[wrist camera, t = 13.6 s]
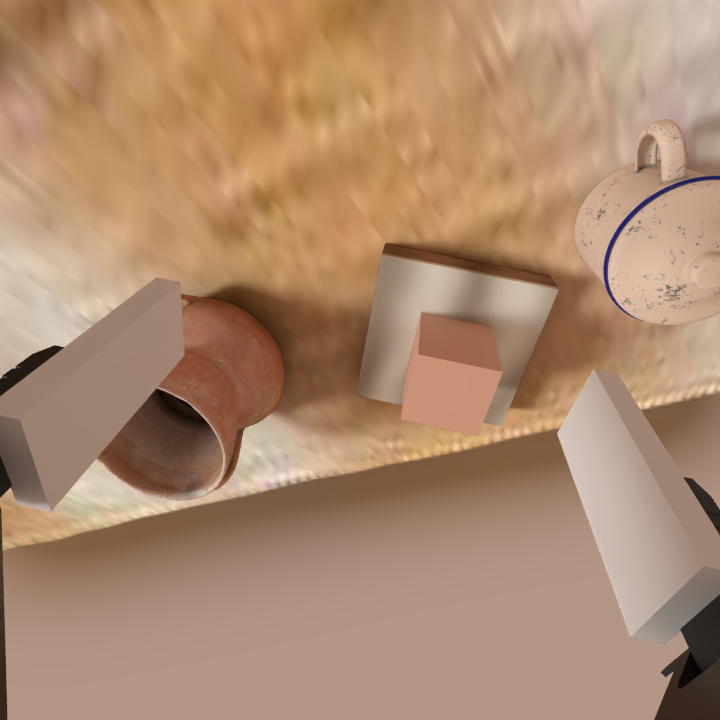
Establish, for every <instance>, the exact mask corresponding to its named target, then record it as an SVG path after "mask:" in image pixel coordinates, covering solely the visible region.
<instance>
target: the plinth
mask: <svg viewBox="0 0 720 720" xmlns="http://www.w3.org/2000/svg"><path fill="white" fill-rule="evenodd" d="M558 291H559V289H558V287H557V286H556V284H555V282H554V281H553V279H552V278H551V276H548V275H543V274H537V273H532V272H527V271H522V270H517V269H512V268H507V267H502V266H497V265H492V264H487V263H482V262H477V261H472V260H467V259H462V258H457V257H452V256H447V255H442V254H437V253H431V252H426V251H421V250H416V249H411V248H406V247H401V246H396V245H391V244H386V243H385V246H384V249H383V252H382V256H381V261H380V267H379V272H378V278H377V283H376V288H375V294H374V299H373V305H372V310H371V315H370V321H369V326H368V331H367V337H366V342H365V348H364V353H363V358H362V364H361V369H360V375H359V380H358V385H357V391H356V396H360V397H365V398H370V399H374V400H379V401H384V402H389V403H393V404H398V405H402V403H403V394H404V385H405V375H406V369H407V365H408V361H409V357H410V353H411V349H412V345H413V342H414V338H415V334H416V330H417V326H418V322H419V318H420V314H421V312H422V313H427V314H432V315H437V316H442V317H447V318H452V319H456V320H461V321H466V322H471V323H476V324H481V325H486V326H490V327H492V328H493V332H494V336H495V341H496V345H497V349H498V353H499V358H500V362H501V366H502V370H503V373H502V376H501V378H500V381H499V383H498V386H497V388H496V391H495V393H494V396H493V399H492V401H491V404H490V406H489V409H488V411H487V414H486V416H485V419H484V421H483V423H487V424H492V425H496V426H502V424H503V421H504V419H505V417H506V414H507V412H508V410H509V407H510V405H511V402H512V400H513V398H514V395H515V393H516V391H517V388H518V386H519V383H520V381H521V379H522V376H523V374H524V372H525V369H526V367H527V365H528V362H529V360H530V357H531V355H532V353H533V350H534V348H535V346H536V343H537V341H538V338H539V336H540V334H541V331H542V329H543V327H544V324H545V322H546V319H547V317H548V315H549V312H550V310H551V308H552V305H553V303H554V300H555V298H556V296H557V293H558Z"/></svg>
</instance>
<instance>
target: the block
mask: <svg viewBox="0 0 720 720" xmlns="http://www.w3.org/2000/svg"><path fill="white" fill-rule="evenodd" d="M502 373H503V370H502V366H501V362H500V358H499V353H498V349H497V345H496V341H495V336H494V332H493V328H492V327H490V326H486V325H481V324H476V323H471V322H466V321H461V320H456V319H452V318H447V317H442V316H437V315H432V314H427V313H422V312H421V314H420V318H419V322H418V326H417V330H416V334H415V338H414V342H413V345H412V349H411V353H410V357H409V361H408V365H407V369H406V375H405V385H404V394H403V403H402V413H401V420H404V421H409V422H414V423H418V424H423V425H428V426H432V427H437V428H441V429H446V430H451V431H455V432H460V433H465V434H469V435H474V436H478V434H479V432H480V429H481V427H482V424H483V421H484V419H485V416H486V414H487V411H488V409H489V406H490V404H491V401H492V399H493V396H494V393H495V391H496V388H497V386H498V383H499V381H500V378H501V376H502Z"/></svg>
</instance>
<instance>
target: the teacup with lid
mask: <svg viewBox="0 0 720 720" xmlns="http://www.w3.org/2000/svg"><path fill="white" fill-rule="evenodd" d="M657 147H659V151H660V157H661V162H660V161H657ZM686 165H687V158H686V146H685V141H684V137H683V134H682V132H681V130H680V128H679V126H678V125H677V124H676V123H675V122H674V121H672V120H667V119H665V120H660V121H657V122H654V123H651V124H649V125H648V126H646V127H645V128H644V130H643V131H642V132H641V134H640V136H639V138H638V141H637V145H636V151H635V164H632V165H630V166H627V167H624V168H622V169H620V170H618V171H616V172H614V173H613V174H611V175H610V176H608V177H607V178H605V179H604V180H603V181H602V182H600V183H599V184H598V185H597V186H596V187H595V188H594V189H593V190H592V192H591V193H590V194H589V195H588V197H587V198H586V200H585V201H584V203H583V205H582V207H581V209H580V211H579V213H578V216H577V220H576V224H575V242H576V246H577V250H578V252H579V254H580V256H581V258H582V259H583V260H584V262H585V263H586V264H587V265H588V266H589V267H590V269H591V270H592V271H593V272H594V273H595V274H596V276H597V277H598V278H599V279H600V280H601V281H602V283H603V284H604V285H605V286H606V289H607V291H608V294H609V295H610V297H611V299H612V300H613V302H614V303H615V304H616V305H617V306H618V307H619V308H620V309H621V310H622V311H624V312H625V313H626V314H628V315H630V316H631V317H634V318H636V319H638V320H641V321H644V322H648V323H652V324H659V325H679V324H687V323H692V322H696V321H700V320H703V319H706V318H709V317H711V316H714V315H716V314H718V313H720V176H709V175H706V174H702V173H699V172H696V171H693V170H690V169H687V168H686Z"/></svg>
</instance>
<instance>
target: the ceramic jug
mask: <svg viewBox="0 0 720 720" xmlns="http://www.w3.org/2000/svg"><path fill="white" fill-rule="evenodd" d="M181 305H182V322H183V338H184V354H185V355H184V356H183V358H182V359H181V360H180V361H179V362H178V363H177V365H176V366H175V367H174V368H173V369H172V370H171V372H170V373H169V374H168V375H167V376H166V378H165V379H164V380H163V381H162V382H161V383H160V385H159V386H158V387H157V388H156V389H155V390H154V392H153V393H152V394H151V395H150V396H149V397H148V399H147V400H146V401H145V402H144V403H143V404H142V406H141V407H140V408H139V409H138V410H137V411H136V413H135V414H134V415H133V416H132V417H131V418H130V420H129V421H128V422H127V423H126V424H125V426H124V427H123V428H122V429H121V430H120V431H119V433H118V434H117V435H116V436H115V437H114V438H113V440H112V441H111V442H110V443H109V444H108V445H107V447H106V448H105V449H104V450H103V451H102V452H101V454H100V455H99V456H98V457H97V458H96V459H97V460H98V461H99V462H100V463H102V464H103V465H104V466H105V467H106V468H107V469H108V470H109V471H110V472H111V473H112V474H114V475H115V476H116V477H117V478H118V479H120V480H122V481H123V482H125V483H126V484H128V485H130V486H131V487H133V488H135V489H137V490H138V491H141V492H143V493H145V494H147V495H150V496H154V497H160V498H162V497H163V498H165V499H167V500H178V501H180V500H191V499H195V498H198V497H201V496H204V495H207V494H209V493H210V492H212V491H213V490H216V489H218V488H220V487H221V486H223V485H224V484H225V483H226V482H227V481H228V480H229V478H230V477H231V475H232V474H233V472H234V470H235V468H236V465H237V462H238V458H239V453H240V448H241V442H242V436H243V431H244V429H245V428H246V427H249V426H251V425H254V424H256V423H258V422H260V421H262V420H263V419H264V418H266V417H267V416H268V415H269V414H270V413H271V412H272V411H273V410H274V409H275V408H276V406H277V405H278V403H279V401H280V399H281V397H282V394H283V391H284V385H285V366H284V361H283V358H282V354H281V352H280V349H279V347H278V345H277V343H276V342H275V340H274V338H273V337H272V335H271V334H270V333H269V332H268V331H267V330H266V329H265V328H264V327H263V325H262V324H261V323H260V322H259V321H258V320H257V319H256V318H255V317H253V316H252V315H251V314H249V313H248V312H246V311H245V310H243V309H241V308H239V307H237V306H235V305H233V304H231V303H228V302H225V301H221V300H217V299H212V298H205V297H197V296H189V295H181Z"/></svg>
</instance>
